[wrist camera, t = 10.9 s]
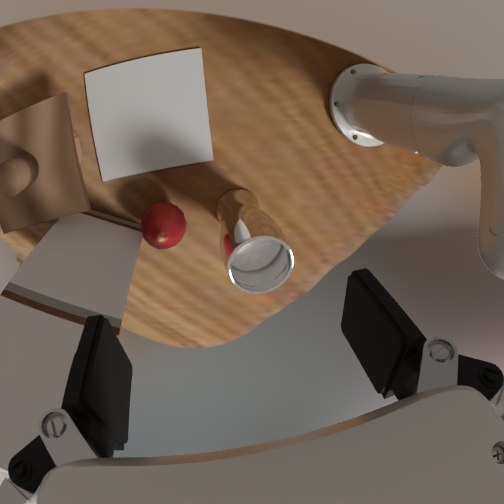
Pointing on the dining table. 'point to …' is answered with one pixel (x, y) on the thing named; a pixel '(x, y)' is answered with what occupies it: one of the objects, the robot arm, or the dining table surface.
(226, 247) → the beer glass
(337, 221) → the dining table surface
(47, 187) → the lid
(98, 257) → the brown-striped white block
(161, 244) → the onion
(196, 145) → the mat
